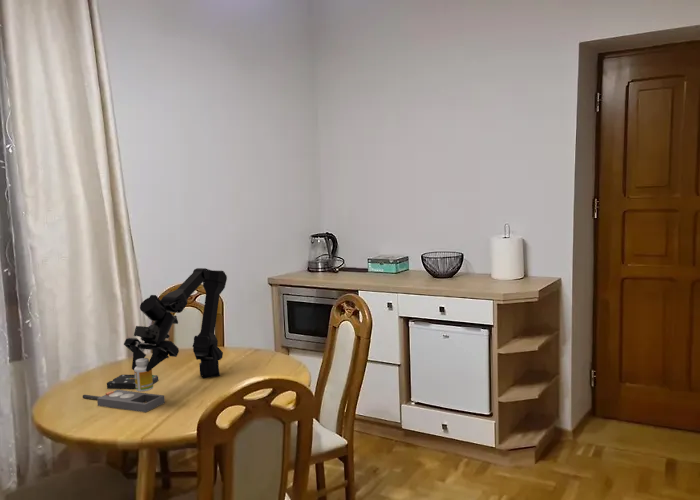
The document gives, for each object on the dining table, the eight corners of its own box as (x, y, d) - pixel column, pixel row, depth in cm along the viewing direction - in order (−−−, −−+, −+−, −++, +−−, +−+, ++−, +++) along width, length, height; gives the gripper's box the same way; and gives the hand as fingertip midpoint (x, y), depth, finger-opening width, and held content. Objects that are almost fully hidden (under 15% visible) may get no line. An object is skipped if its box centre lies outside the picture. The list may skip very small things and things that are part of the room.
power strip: (164, 402, 207) (164, 393, 207) (145, 412, 199) (144, 402, 198) (93, 393, 220) (92, 384, 219) (72, 402, 212) (71, 393, 211)
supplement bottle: (156, 387, 206) (154, 357, 205) (146, 392, 201) (143, 362, 200) (142, 385, 207) (140, 356, 206) (132, 391, 202) (129, 361, 201)
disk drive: (106, 390, 225) (145, 390, 222) (105, 383, 224) (144, 382, 222) (121, 381, 235) (159, 381, 232) (121, 374, 234) (158, 374, 232)
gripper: (125, 313, 209) (102, 355, 200) (170, 316, 201) (148, 360, 192) (144, 331, 217) (123, 372, 208) (187, 334, 209) (168, 377, 200)
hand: (139, 370), depth 202 cm, fingers closed on supplement bottle, 5 cm apart
